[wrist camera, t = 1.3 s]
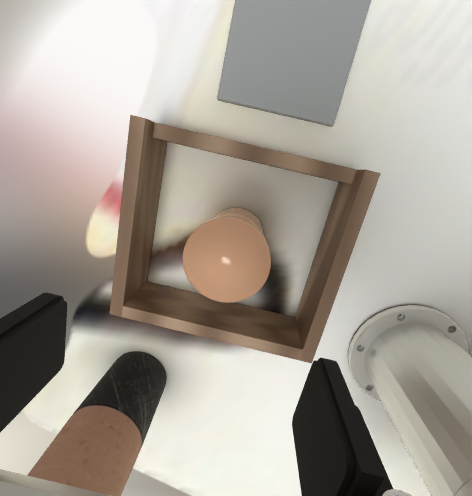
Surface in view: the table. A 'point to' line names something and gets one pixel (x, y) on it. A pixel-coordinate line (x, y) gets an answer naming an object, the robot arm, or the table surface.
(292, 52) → the slate mat
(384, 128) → the table surface
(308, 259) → the table surface
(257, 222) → the terracotta pot
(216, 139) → the brown wooden square frame
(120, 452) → the travel mug
